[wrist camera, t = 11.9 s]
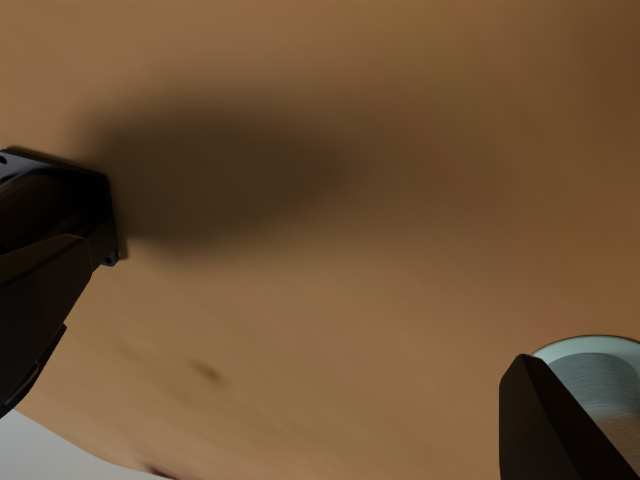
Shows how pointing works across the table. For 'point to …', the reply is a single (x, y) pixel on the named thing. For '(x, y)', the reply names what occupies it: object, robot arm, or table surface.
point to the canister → (606, 397)
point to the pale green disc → (593, 348)
